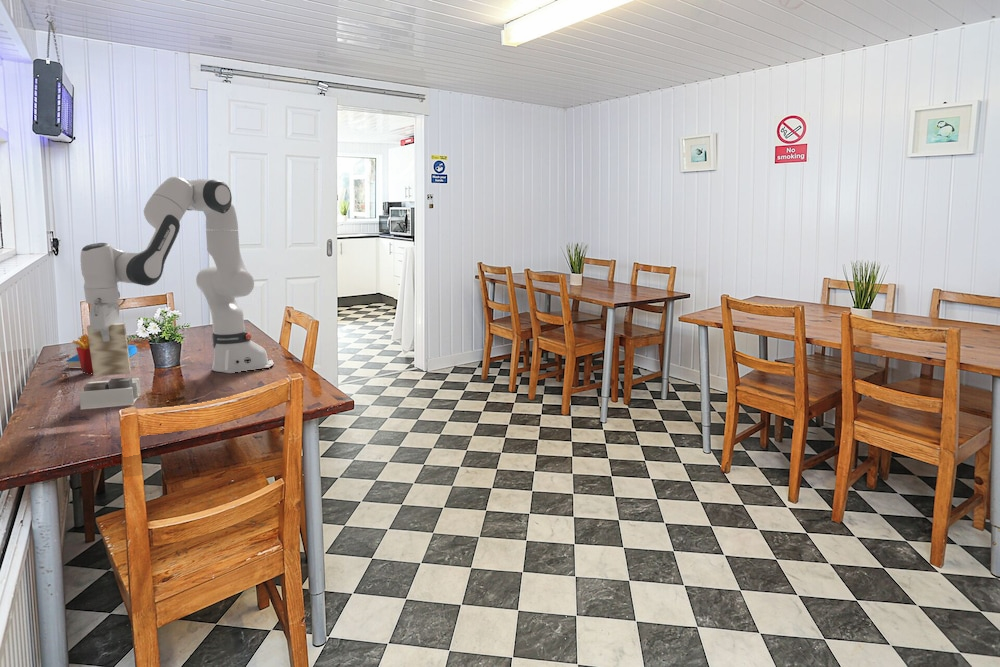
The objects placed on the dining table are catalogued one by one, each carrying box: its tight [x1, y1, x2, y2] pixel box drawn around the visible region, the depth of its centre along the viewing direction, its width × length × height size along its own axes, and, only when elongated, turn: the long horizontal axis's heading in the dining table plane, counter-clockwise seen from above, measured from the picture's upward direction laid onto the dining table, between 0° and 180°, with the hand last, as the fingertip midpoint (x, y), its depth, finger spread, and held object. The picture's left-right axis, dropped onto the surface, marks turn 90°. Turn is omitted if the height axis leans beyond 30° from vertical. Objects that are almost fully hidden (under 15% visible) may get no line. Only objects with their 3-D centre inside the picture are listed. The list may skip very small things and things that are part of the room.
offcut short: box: [83, 382, 109, 391], centre depth 193 cm, size 6×4×6 cm
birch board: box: [86, 322, 132, 377], centre depth 197 cm, size 10×2×16 cm, turn 110°
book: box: [66, 344, 138, 368], centre depth 253 cm, size 17×4×25 cm
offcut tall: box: [108, 376, 134, 397], centre depth 195 cm, size 6×4×7 cm
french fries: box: [72, 333, 93, 375], centre depth 233 cm, size 9×8×15 cm
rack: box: [78, 377, 142, 411], centre depth 196 cm, size 14×14×6 cm
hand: (108, 340), depth 196 cm, fingers closed on birch board, 2 cm apart
